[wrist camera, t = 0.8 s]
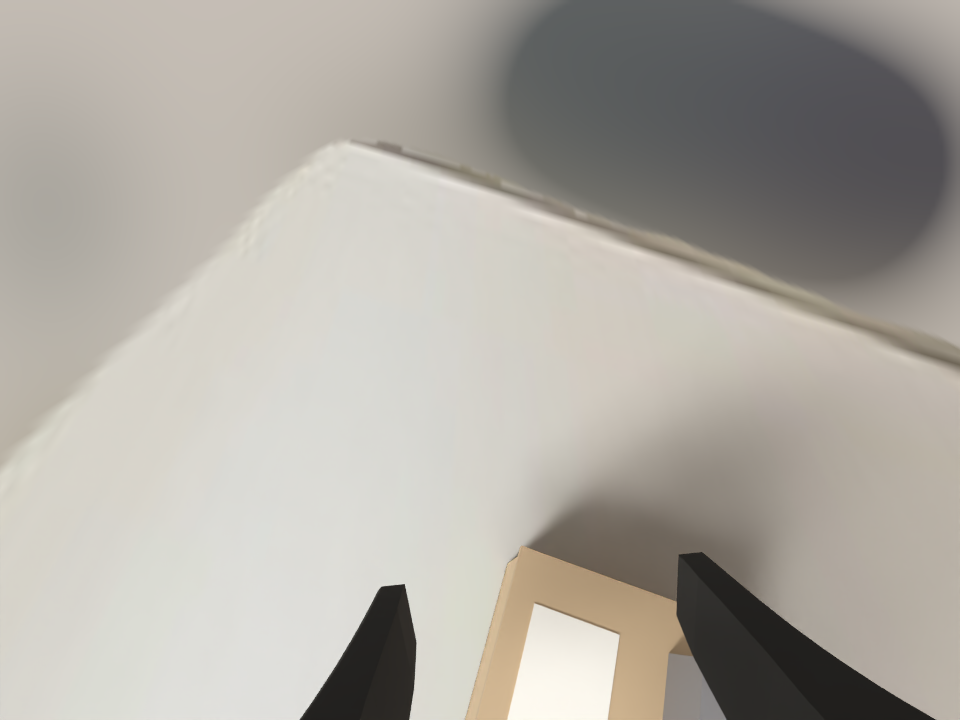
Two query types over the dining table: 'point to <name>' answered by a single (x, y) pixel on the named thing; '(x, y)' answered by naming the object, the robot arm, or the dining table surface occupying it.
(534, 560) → the sliding lid
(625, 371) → the dining table surface
